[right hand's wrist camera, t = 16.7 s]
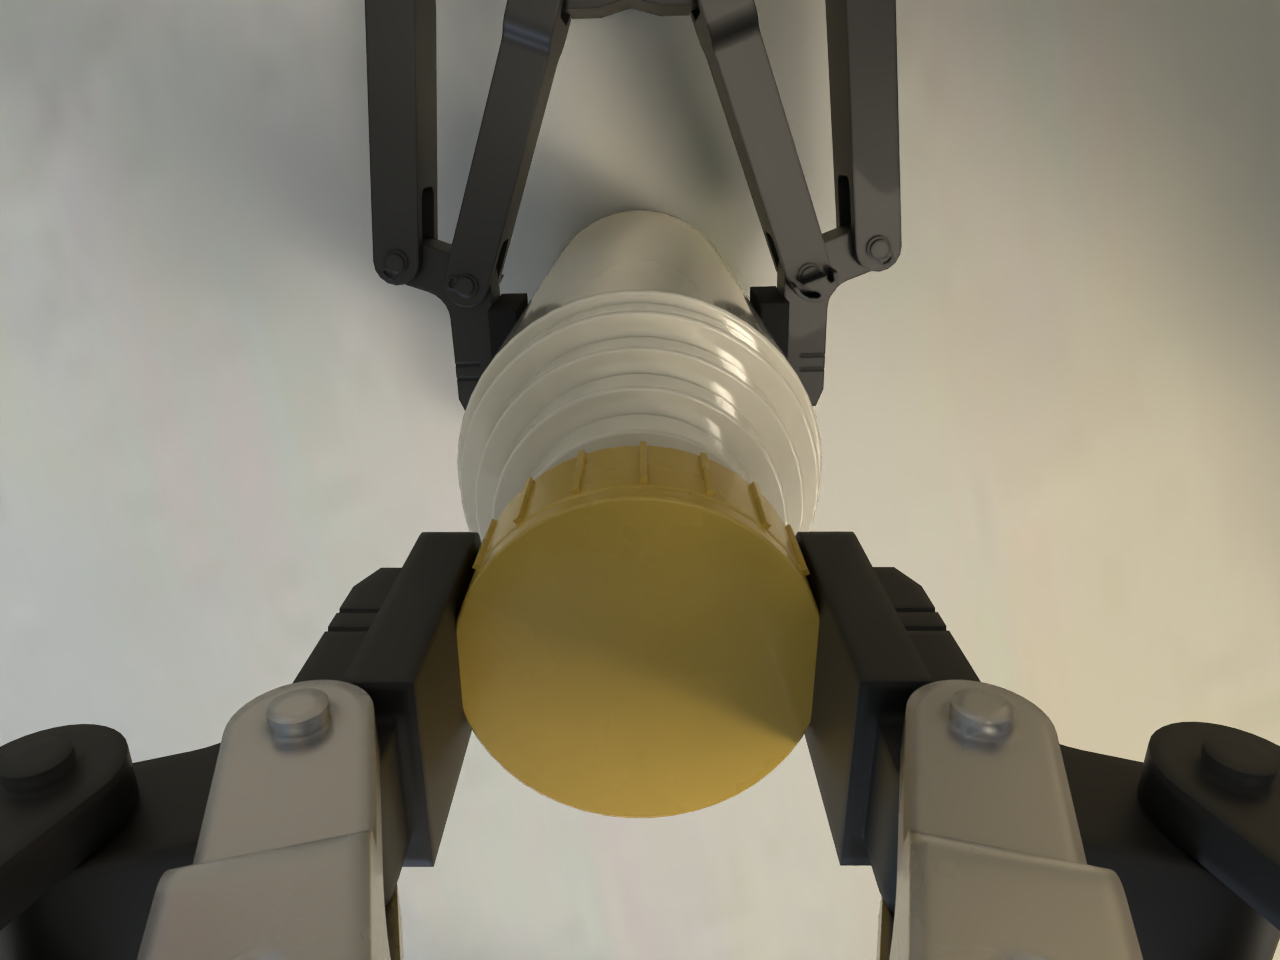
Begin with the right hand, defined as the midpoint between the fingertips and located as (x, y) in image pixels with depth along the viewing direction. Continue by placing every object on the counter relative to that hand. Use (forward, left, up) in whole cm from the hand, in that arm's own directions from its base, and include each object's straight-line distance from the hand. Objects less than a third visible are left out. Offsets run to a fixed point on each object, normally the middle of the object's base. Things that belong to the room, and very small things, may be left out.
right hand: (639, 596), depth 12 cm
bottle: (0, 0, -21) cm, 21 cm away
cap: (0, 0, +1) cm, 1 cm away
